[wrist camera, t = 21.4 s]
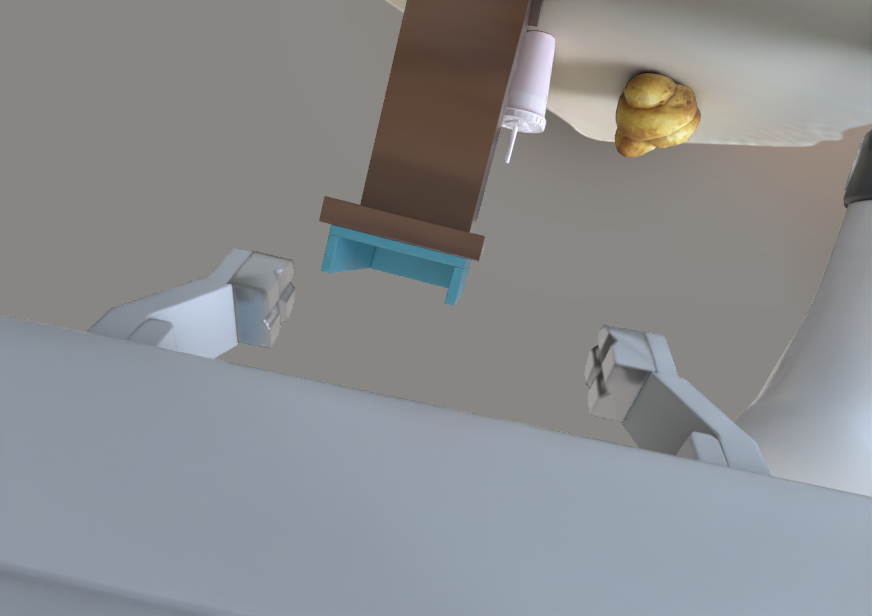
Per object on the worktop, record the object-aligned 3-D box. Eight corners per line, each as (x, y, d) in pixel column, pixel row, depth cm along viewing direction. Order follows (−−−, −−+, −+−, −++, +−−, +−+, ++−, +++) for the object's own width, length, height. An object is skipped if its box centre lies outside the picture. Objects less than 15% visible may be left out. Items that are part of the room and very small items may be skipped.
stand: (394, -124, 38) (318, 221, 42) (570, -88, 38) (478, 261, 41) (422, -15, 54) (365, 229, 57) (546, 13, 53) (481, 259, 57)
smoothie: (506, 40, 63) (476, 158, 64) (519, 19, 56) (485, 150, 58) (558, 55, 63) (526, 172, 65) (575, 36, 57) (540, 166, 59)
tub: (330, 224, 42) (320, 271, 42) (466, 258, 41) (454, 306, 41) (372, 231, 56) (364, 266, 57) (472, 256, 56) (463, 291, 56)
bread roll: (617, 62, 61) (597, 132, 62) (708, 69, 57) (685, 144, 58) (629, 100, 72) (612, 159, 73) (706, 108, 68) (687, 170, 69)
